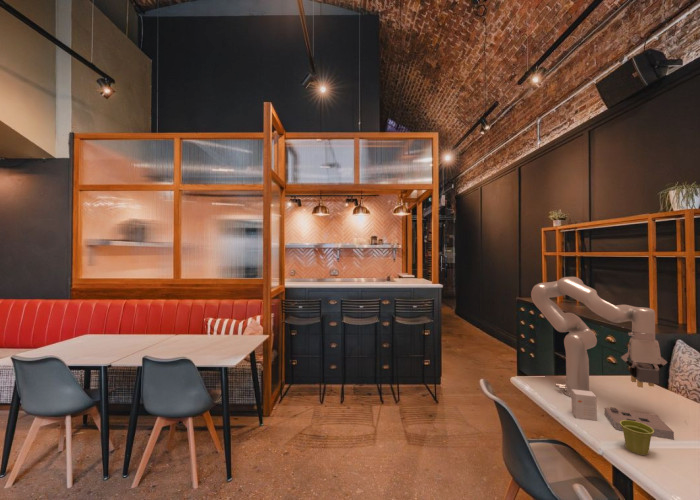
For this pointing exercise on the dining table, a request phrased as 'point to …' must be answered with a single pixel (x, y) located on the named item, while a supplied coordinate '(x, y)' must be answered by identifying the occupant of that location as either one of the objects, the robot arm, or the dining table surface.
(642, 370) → the plug
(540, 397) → the dining table surface
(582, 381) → the robot arm
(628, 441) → the plant pot
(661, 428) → the socket
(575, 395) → the small box
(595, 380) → the dining table surface
